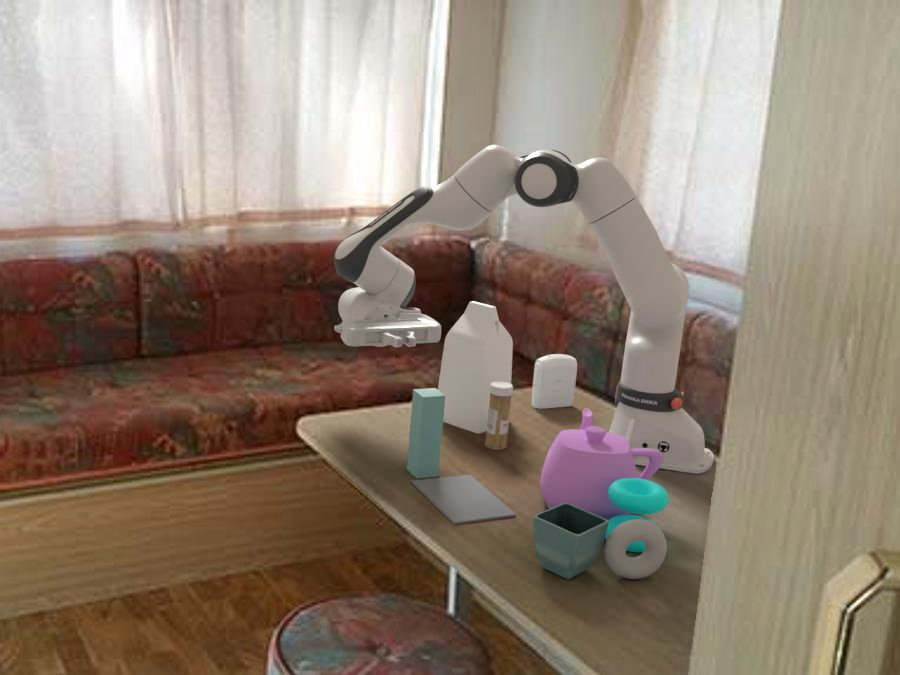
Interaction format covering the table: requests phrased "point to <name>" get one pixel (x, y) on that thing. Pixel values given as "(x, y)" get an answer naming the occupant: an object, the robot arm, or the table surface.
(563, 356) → the photo printer
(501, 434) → the sprinkles bottle
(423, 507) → the table surface
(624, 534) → the donut
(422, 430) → the teal block
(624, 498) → the donuts
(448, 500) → the grey mat
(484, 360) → the milk
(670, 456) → the robot arm
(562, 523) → the flower pot
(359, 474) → the table surface
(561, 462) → the teapot
